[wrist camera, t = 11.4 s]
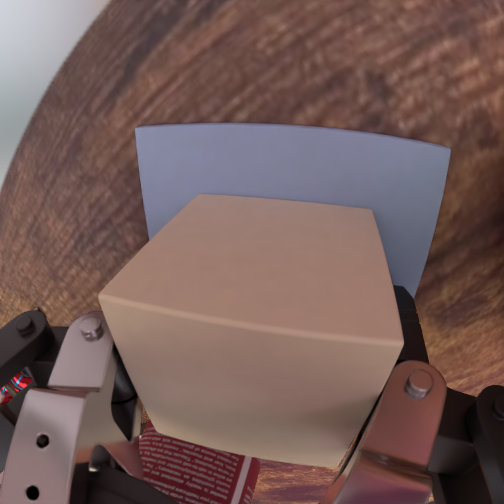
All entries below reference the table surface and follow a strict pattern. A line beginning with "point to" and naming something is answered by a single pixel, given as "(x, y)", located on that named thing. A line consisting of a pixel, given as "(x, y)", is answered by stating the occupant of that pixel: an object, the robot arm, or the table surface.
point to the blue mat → (301, 177)
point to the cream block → (259, 326)
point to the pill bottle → (196, 470)
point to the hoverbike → (15, 386)
